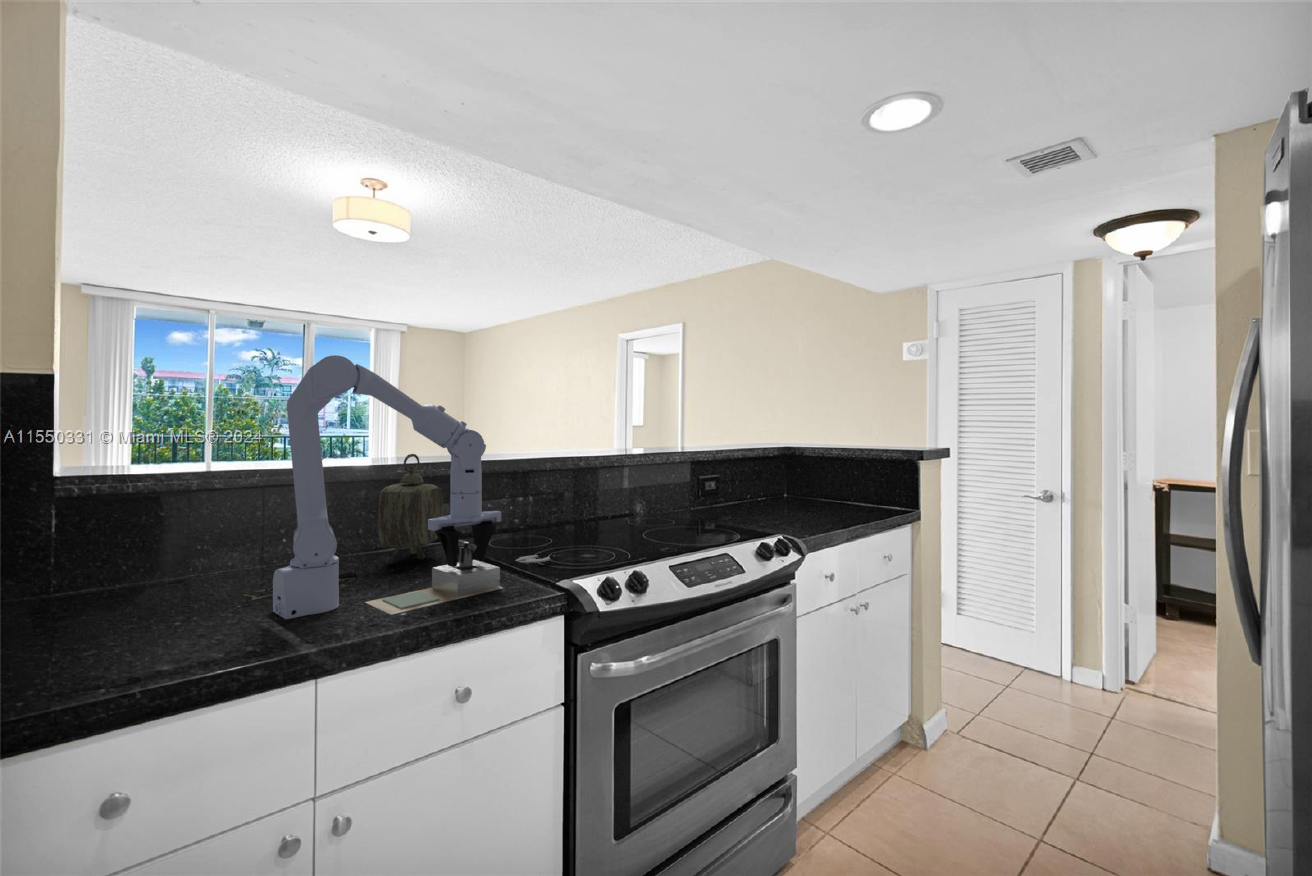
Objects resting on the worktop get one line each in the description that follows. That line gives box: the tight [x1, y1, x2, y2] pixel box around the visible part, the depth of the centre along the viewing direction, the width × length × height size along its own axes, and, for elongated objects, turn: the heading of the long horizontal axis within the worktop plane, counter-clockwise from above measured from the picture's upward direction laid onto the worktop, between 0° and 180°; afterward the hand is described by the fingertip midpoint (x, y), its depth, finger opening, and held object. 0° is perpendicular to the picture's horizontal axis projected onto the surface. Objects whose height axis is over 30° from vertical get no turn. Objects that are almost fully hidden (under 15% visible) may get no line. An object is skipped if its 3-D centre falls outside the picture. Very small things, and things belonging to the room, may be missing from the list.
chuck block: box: [431, 559, 501, 598], centre depth 118 cm, size 9×9×4 cm
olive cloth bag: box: [377, 453, 444, 565], centre depth 146 cm, size 14×9×25 cm, turn 174°
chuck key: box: [458, 539, 477, 571], centre depth 118 cm, size 2×6×7 cm, turn 49°
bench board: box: [364, 586, 503, 616], centre depth 114 cm, size 22×10×1 cm, turn 139°
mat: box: [382, 590, 439, 609], centre depth 110 cm, size 7×7×1 cm
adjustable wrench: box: [514, 554, 551, 565], centre depth 138 cm, size 25×6×2 cm, turn 128°
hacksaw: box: [232, 569, 359, 608], centre depth 121 cm, size 24×10×2 cm, turn 136°
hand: (466, 563), depth 118 cm, fingers open, 5 cm apart
